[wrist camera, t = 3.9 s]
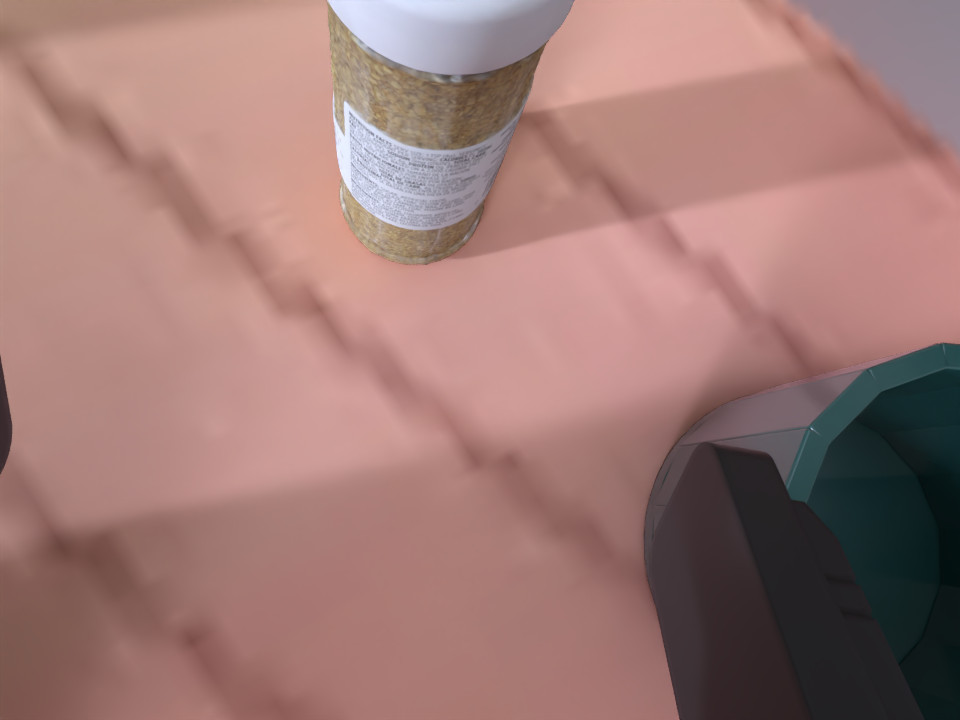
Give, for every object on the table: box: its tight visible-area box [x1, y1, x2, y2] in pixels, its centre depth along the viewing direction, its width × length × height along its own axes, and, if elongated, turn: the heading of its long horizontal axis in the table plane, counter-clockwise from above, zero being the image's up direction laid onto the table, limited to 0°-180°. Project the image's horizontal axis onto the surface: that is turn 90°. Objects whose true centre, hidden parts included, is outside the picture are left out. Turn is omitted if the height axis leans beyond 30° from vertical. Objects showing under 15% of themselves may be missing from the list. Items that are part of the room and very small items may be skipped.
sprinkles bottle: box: [327, 0, 574, 265], centre depth 18 cm, size 5×5×13 cm
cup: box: [644, 343, 960, 720], centre depth 21 cm, size 10×10×8 cm
